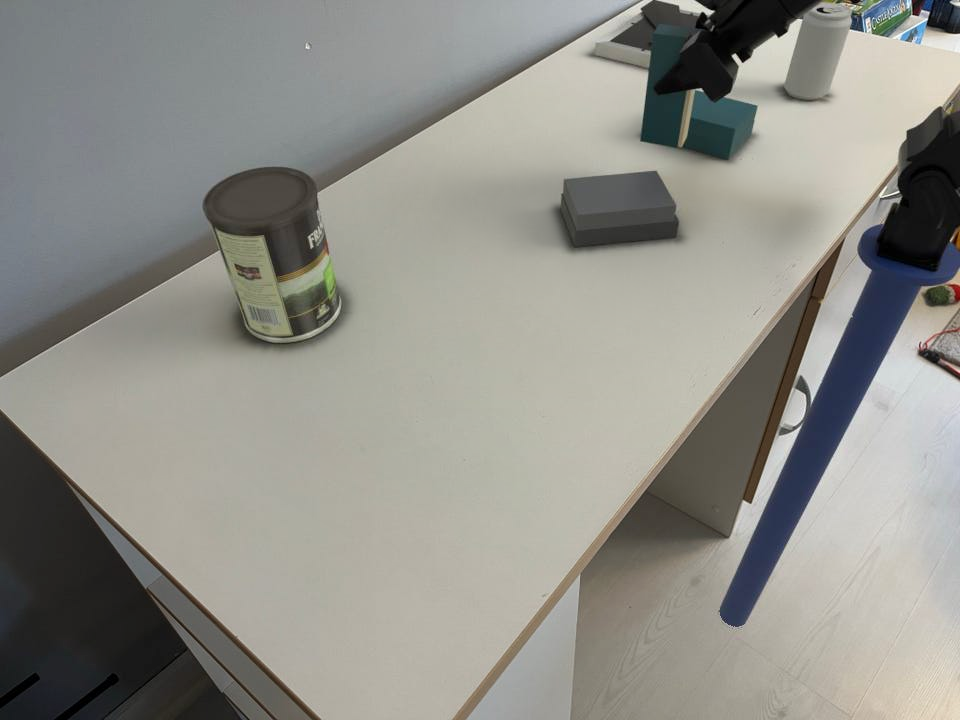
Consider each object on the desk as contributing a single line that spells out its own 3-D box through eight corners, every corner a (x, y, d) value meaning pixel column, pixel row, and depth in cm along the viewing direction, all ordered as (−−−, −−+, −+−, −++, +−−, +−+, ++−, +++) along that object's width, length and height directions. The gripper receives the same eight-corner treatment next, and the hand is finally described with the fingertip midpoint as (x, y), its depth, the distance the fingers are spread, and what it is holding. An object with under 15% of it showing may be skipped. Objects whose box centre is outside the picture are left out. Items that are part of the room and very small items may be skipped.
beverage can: (775, 85, 109) (798, 2, 101) (816, 82, 110) (842, -2, 101) (793, 103, 105) (818, 18, 96) (835, 100, 105) (864, 15, 97)
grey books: (656, 199, 88) (661, 167, 85) (676, 237, 83) (683, 204, 79) (560, 208, 87) (562, 177, 84) (574, 247, 82) (576, 214, 79)
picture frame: (651, 15, 131) (594, 55, 119) (653, -1, 129) (596, 37, 117) (734, 33, 124) (682, 76, 112) (737, 16, 122) (685, 58, 110)
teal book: (686, 138, 87) (705, 29, 77) (681, 149, 85) (699, 39, 76) (646, 130, 88) (659, 23, 79) (639, 141, 87) (652, 33, 77)
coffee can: (340, 274, 80) (316, 160, 70) (342, 336, 72) (315, 219, 62) (246, 285, 79) (208, 171, 69) (239, 349, 71) (195, 232, 61)
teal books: (751, 135, 99) (758, 104, 96) (728, 160, 94) (735, 129, 91) (670, 113, 104) (675, 83, 101) (645, 136, 99) (649, 106, 96)
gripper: (752, -100, 75) (636, 1, 86) (721, -48, 63) (590, 61, 74) (810, -12, 78) (690, 74, 89) (790, 54, 66) (655, 144, 77)
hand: (658, 86), depth 82 cm, fingers closed on teal book, 3 cm apart
